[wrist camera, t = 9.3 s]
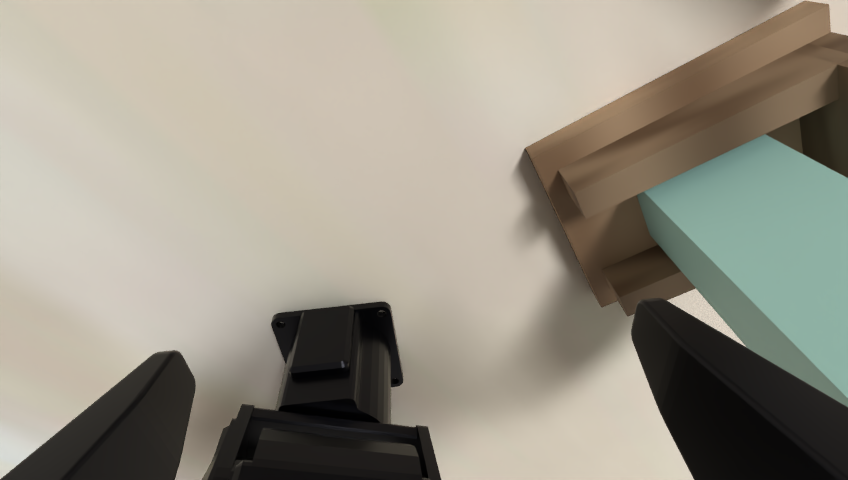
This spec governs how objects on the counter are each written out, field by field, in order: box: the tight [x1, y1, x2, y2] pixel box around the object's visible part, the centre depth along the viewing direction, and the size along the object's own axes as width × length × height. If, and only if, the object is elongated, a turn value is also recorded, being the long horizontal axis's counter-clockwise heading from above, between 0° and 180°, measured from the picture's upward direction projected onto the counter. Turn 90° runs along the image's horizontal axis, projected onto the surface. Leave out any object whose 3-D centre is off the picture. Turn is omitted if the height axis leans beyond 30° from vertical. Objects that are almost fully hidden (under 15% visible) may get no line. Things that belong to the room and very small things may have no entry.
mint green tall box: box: [637, 134, 848, 407], centre depth 16 cm, size 6×4×12 cm, turn 119°
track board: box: [525, 1, 848, 316], centre depth 20 cm, size 12×10×4 cm
